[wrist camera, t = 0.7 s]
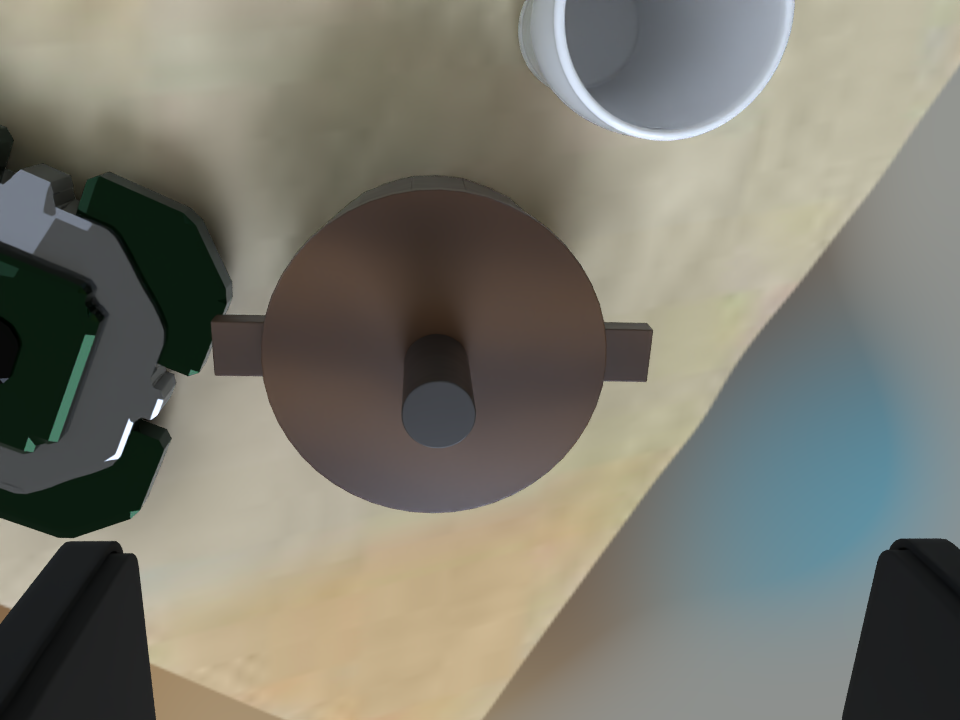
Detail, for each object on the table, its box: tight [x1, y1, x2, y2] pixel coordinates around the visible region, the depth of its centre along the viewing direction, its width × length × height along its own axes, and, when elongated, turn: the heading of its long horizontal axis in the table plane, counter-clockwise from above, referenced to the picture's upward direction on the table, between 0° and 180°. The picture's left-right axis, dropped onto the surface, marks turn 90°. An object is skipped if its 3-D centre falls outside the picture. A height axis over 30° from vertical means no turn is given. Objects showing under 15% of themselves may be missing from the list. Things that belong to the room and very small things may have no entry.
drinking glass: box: [518, 0, 795, 141], centre depth 29 cm, size 7×7×15 cm
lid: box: [261, 187, 607, 513], centre depth 31 cm, size 14×14×6 cm
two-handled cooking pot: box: [211, 175, 653, 382], centre depth 36 cm, size 13×18×7 cm
